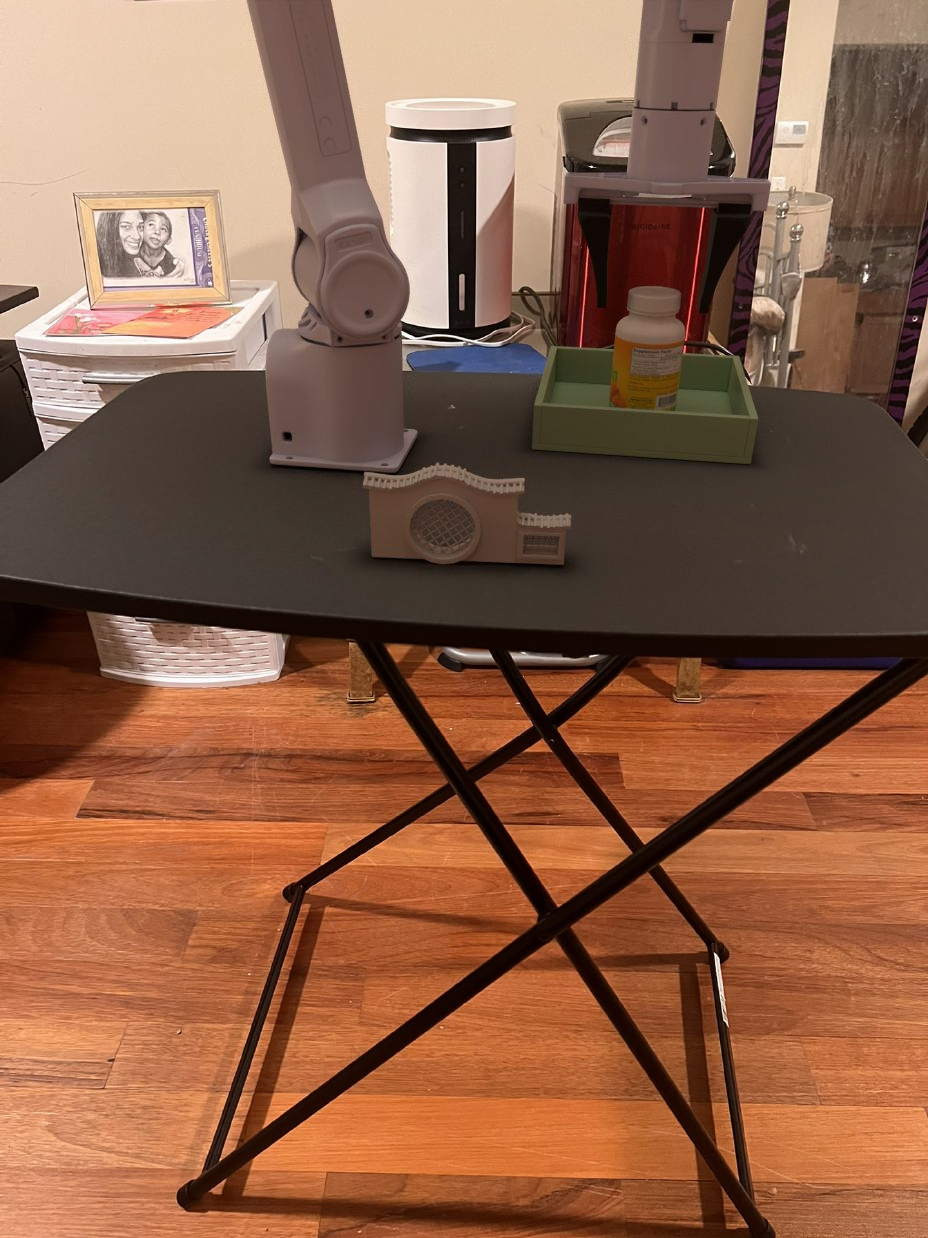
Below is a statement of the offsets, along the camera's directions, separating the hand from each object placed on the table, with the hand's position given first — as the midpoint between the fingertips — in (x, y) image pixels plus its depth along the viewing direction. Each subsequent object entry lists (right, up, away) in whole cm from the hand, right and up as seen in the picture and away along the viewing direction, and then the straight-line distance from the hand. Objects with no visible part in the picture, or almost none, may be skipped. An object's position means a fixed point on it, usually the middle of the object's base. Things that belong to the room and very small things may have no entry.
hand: (652, 307), depth 75 cm
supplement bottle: (0, -7, +5) cm, 9 cm away
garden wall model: (-14, -21, -17) cm, 30 cm away
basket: (0, -8, +5) cm, 9 cm away
